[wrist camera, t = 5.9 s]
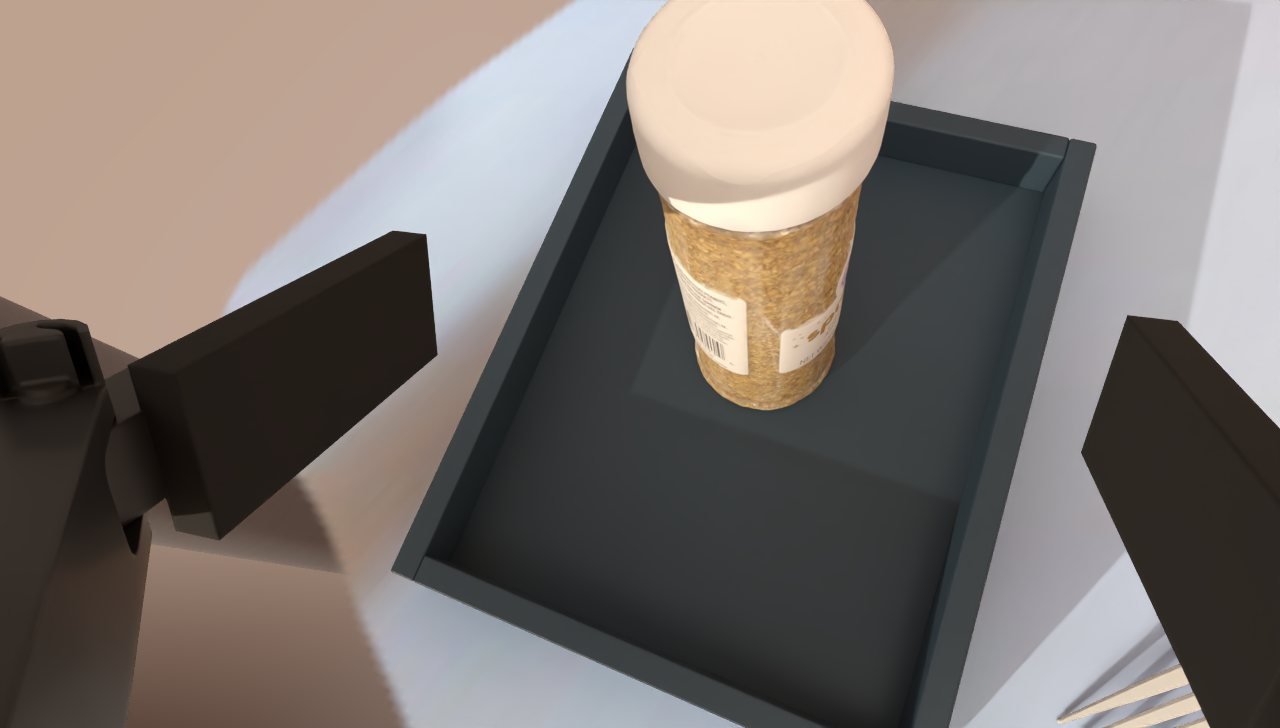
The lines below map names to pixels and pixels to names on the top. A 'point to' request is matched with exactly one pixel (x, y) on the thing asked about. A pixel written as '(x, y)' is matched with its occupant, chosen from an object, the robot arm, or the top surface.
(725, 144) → the sprinkles bottle
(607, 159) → the tray
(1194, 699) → the fork
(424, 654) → the top surface
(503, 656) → the top surface
